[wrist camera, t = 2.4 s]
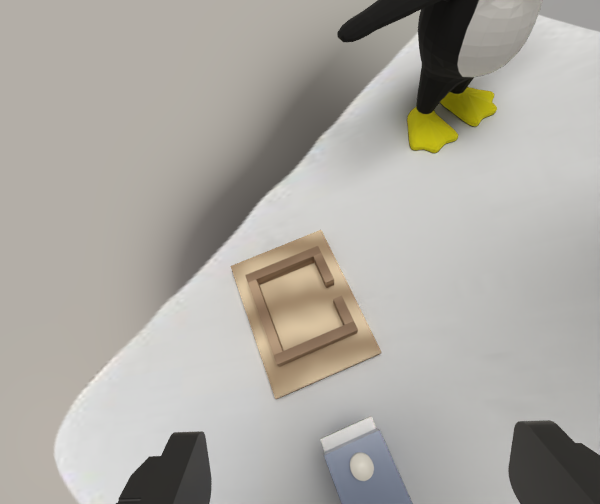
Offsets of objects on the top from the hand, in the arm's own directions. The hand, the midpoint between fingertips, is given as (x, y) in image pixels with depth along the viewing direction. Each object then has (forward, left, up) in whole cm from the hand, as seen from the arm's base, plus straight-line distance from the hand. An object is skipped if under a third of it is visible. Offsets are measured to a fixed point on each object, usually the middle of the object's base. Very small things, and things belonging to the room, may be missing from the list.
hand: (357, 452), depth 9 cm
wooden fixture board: (+11, -5, -28) cm, 31 cm away
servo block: (-4, +2, -28) cm, 29 cm away
